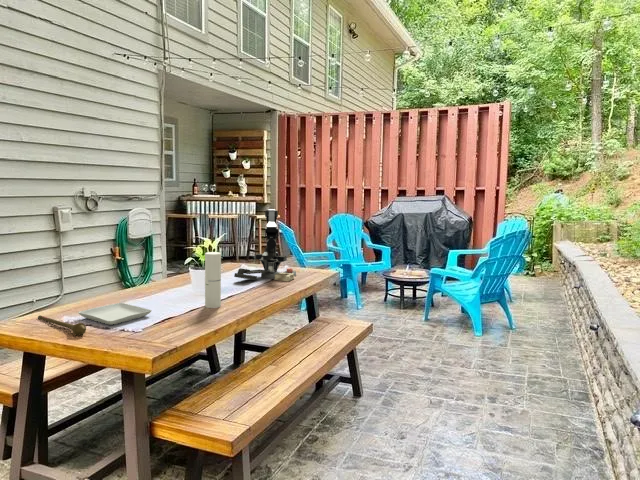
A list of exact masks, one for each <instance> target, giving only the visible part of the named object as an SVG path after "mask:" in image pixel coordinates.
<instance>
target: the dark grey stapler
mask: <svg viewBox="0 0 640 480" xmlns="http://www.w3.org/2000/svg"><path fill="white" fill-rule="evenodd" d="M269 272H270V271H268V270H264V269H252V270H251V269H248V268H241V267H240V268H239V269H238V270H237V272H234V277H235V278H238V279H245V280H252V281H258V276H257V275H255V274H261V273H269Z"/></svg>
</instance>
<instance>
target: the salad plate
mask: <svg viewBox="0 0 640 480" xmlns="http://www.w3.org/2000/svg"><path fill="white" fill-rule="evenodd" d="M77 313H78V315H80V316H81V317H83V318H85V319H87V320H91V321H93V320H94V321H93V322H97V321H98V322H97V323H100V322H101V324H104V323H105V325H109V326H111V325H112V326H113V324H114V325H118V323H119V324H122V323H125V321H126V322H129V320H130V321H133V320H137V319H140V318H143V317H146V316H147V315H149V314H151V313H152V309H150V308H144V307H141V306H137V305H132V304H128V303H125V302H117V303H114V304H113V303H112V304H107V305H103V306H98V307H97V306H96V307H92V308H89V309H85V310H81V311H78V312H77ZM136 318H137V319H136ZM132 319H133V320H132ZM121 322H122V323H121Z"/></svg>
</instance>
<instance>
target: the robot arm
mask: <svg viewBox="0 0 640 480" xmlns="http://www.w3.org/2000/svg"><path fill="white" fill-rule="evenodd" d="M264 217H265V220H266V222H267V224H266V227H264V228H265V229H264V230H265V233H264V237H265V238H266V248H265V250H264V252H263V253H257V254H255V255H254V256H255V257H254V259H255V260H258V261H259V262H261V264H262V267H263V270H267V271H268V262H273V263H274V272H278V269H279V267H280V265H281V263H282V262H283V263H284V262H286V261H288V260H287V255H279V254H278V251H277V239H279V237H280V230H279V228H278V225H277V223H276V221H277V220H278V217H279V211H278V210H276V209H273V208H270V209H266V210H265V211H264Z"/></svg>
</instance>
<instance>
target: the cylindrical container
mask: <svg viewBox="0 0 640 480" xmlns="http://www.w3.org/2000/svg"><path fill="white" fill-rule="evenodd" d="M204 275H205V276H204V307H205V308H208V309H217V308H220V307H222V306H221V302H222V301H221V300H222V299H221V298H222V297H221V295H222V293H221V292H222V282H221V281H222V279H221V278H222V253H221V252H219V251H218V252H217V251H207V252H205V253H204Z"/></svg>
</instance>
